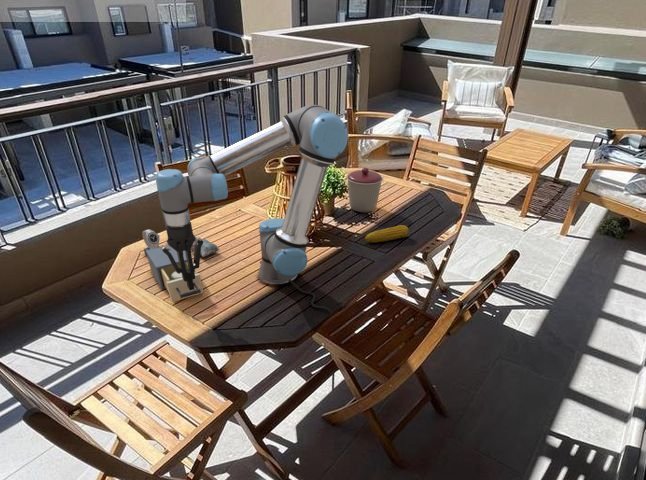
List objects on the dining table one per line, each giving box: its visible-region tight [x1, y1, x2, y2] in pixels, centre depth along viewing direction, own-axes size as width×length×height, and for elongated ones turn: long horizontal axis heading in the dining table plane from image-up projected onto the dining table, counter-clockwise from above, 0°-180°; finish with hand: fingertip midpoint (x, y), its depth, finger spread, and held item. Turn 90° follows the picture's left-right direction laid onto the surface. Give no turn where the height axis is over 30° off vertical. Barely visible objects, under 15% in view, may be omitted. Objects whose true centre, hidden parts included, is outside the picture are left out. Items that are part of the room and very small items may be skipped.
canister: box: [346, 167, 384, 213], centre depth 223 cm, size 18×18×21 cm
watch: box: [142, 228, 161, 257], centre depth 183 cm, size 6×8×11 cm
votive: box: [171, 271, 182, 280], centre depth 162 cm, size 6×6×6 cm
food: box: [364, 224, 409, 244], centre depth 200 cm, size 21×6×6 cm, turn 115°
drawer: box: [160, 262, 204, 303], centre depth 161 cm, size 20×11×8 cm, turn 33°
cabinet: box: [146, 246, 187, 290], centre depth 170 cm, size 15×13×10 cm
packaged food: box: [191, 238, 221, 258], centre depth 187 cm, size 9×12×5 cm
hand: (190, 287), depth 149 cm, fingers closed
